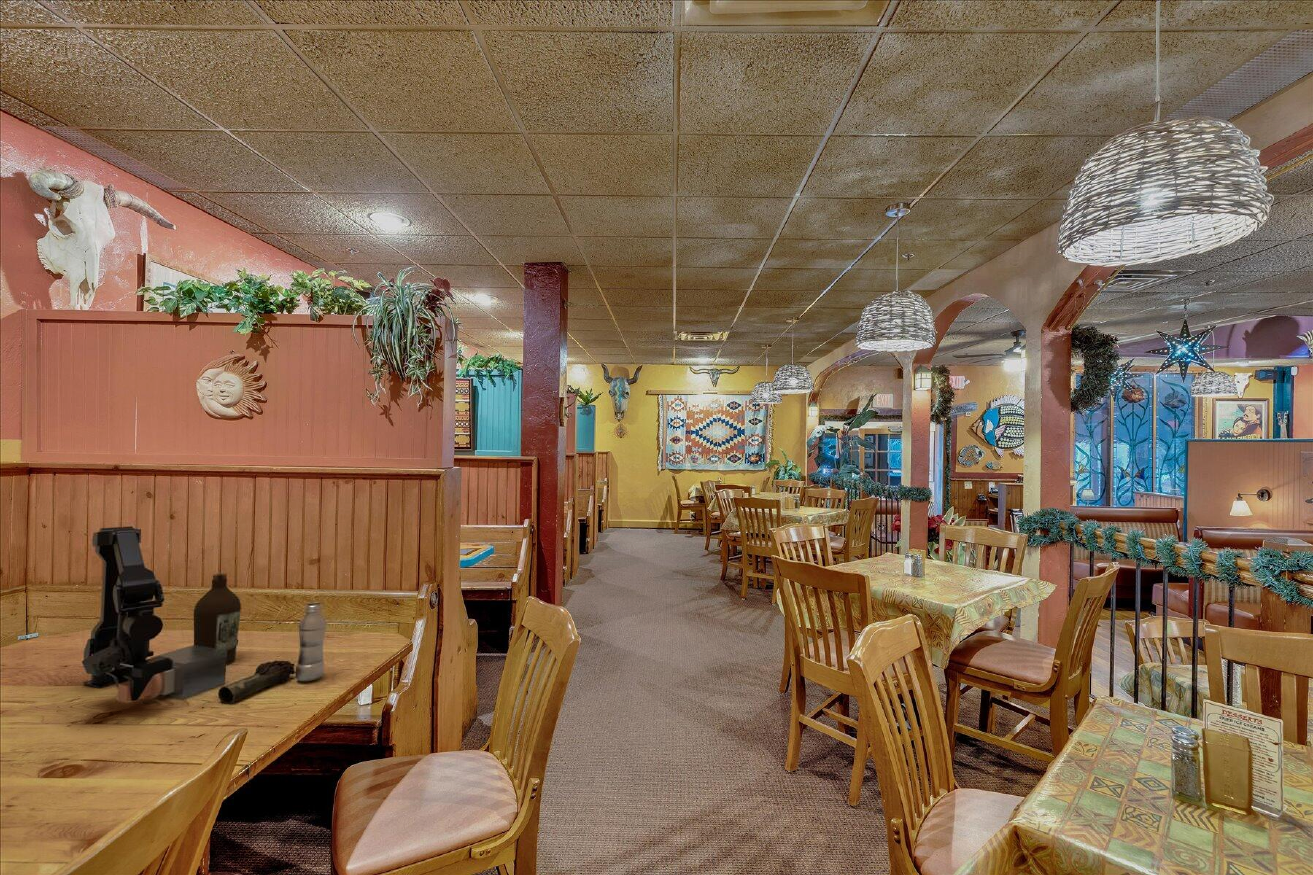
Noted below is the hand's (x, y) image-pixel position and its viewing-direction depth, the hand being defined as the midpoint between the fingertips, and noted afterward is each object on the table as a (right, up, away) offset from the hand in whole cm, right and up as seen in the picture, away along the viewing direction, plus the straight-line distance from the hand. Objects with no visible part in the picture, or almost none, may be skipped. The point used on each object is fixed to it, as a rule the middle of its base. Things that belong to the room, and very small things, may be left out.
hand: (129, 699), depth 131 cm
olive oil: (-3, -3, +28) cm, 29 cm away
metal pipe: (+21, -4, +12) cm, 25 cm away
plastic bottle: (+30, -4, +19) cm, 36 cm away
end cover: (+2, -1, +6) cm, 6 cm away
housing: (+4, -3, +12) cm, 13 cm away
